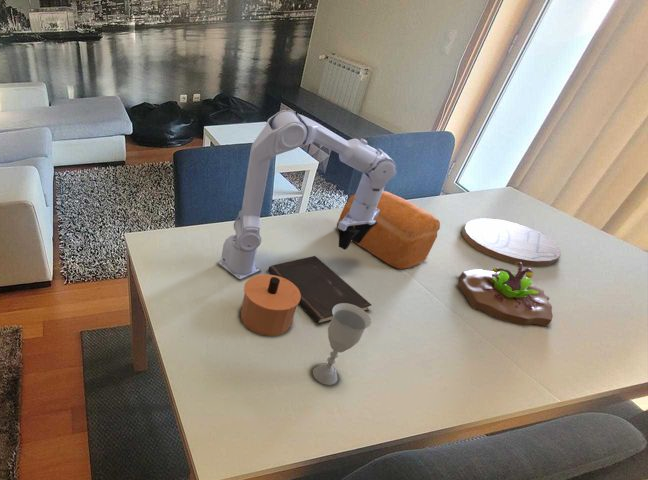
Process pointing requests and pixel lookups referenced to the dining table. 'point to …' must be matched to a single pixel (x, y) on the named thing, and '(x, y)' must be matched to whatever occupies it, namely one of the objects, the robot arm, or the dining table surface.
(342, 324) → the chalice
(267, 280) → the pot lid
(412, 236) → the bread
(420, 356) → the dining table surface
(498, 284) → the plant
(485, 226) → the trivet
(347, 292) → the hardcover book
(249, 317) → the pot
